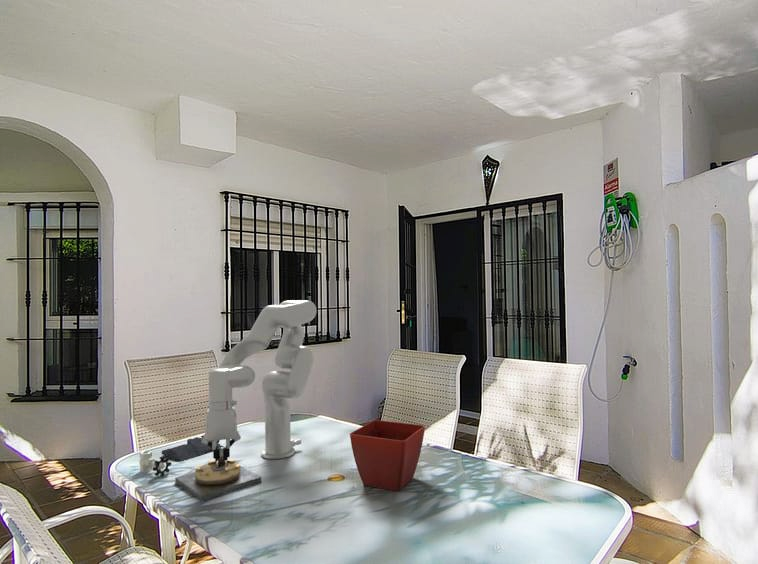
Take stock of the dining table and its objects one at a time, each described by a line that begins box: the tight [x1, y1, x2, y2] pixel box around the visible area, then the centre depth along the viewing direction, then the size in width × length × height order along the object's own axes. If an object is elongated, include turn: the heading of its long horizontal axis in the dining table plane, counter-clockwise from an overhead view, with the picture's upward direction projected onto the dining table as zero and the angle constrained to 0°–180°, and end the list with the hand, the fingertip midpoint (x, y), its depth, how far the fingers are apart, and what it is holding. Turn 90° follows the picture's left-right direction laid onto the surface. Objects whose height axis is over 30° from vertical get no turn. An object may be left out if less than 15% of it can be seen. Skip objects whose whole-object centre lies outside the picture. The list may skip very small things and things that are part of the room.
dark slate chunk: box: [161, 434, 225, 462], centre depth 191 cm, size 15×22×5 cm
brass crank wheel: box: [194, 446, 241, 485], centre depth 158 cm, size 14×14×8 cm
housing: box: [174, 465, 262, 502], centre depth 158 cm, size 20×20×3 cm
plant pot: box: [349, 419, 426, 492], centre depth 156 cm, size 19×19×17 cm
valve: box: [139, 450, 173, 477], centre depth 168 cm, size 7×7×12 cm
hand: (221, 459), depth 163 cm, fingers closed on brass crank wheel, 2 cm apart
